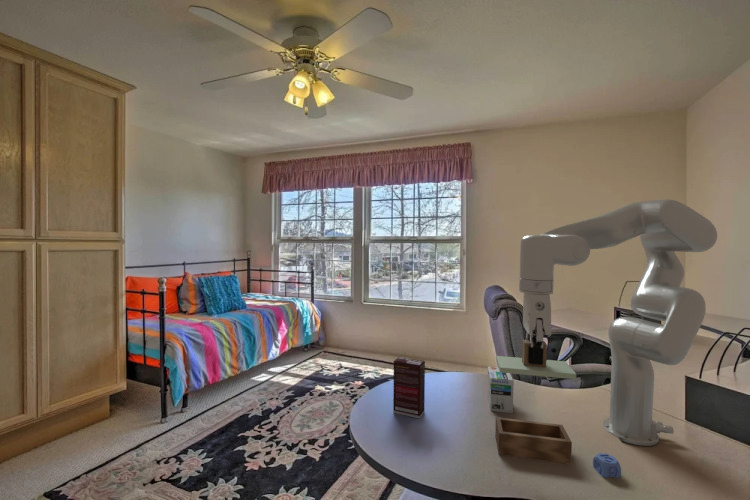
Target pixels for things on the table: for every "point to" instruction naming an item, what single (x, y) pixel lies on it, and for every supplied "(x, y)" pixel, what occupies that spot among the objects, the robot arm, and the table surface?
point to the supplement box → (409, 387)
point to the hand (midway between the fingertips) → (533, 360)
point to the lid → (534, 365)
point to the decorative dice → (607, 465)
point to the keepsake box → (533, 440)
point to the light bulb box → (500, 390)
